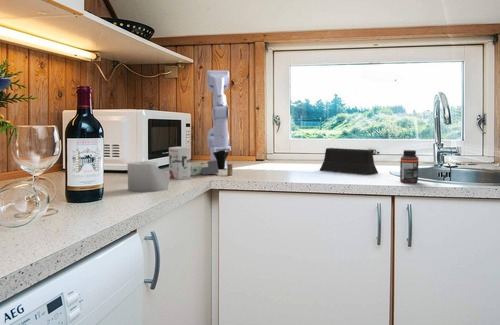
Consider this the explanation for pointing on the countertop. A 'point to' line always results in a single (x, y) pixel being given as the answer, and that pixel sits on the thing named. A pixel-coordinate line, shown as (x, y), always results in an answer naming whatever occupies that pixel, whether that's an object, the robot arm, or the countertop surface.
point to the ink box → (179, 162)
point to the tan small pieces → (229, 168)
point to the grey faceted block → (211, 168)
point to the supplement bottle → (409, 167)
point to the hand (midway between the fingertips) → (221, 169)
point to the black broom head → (349, 161)
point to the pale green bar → (197, 169)
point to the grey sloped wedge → (146, 177)
